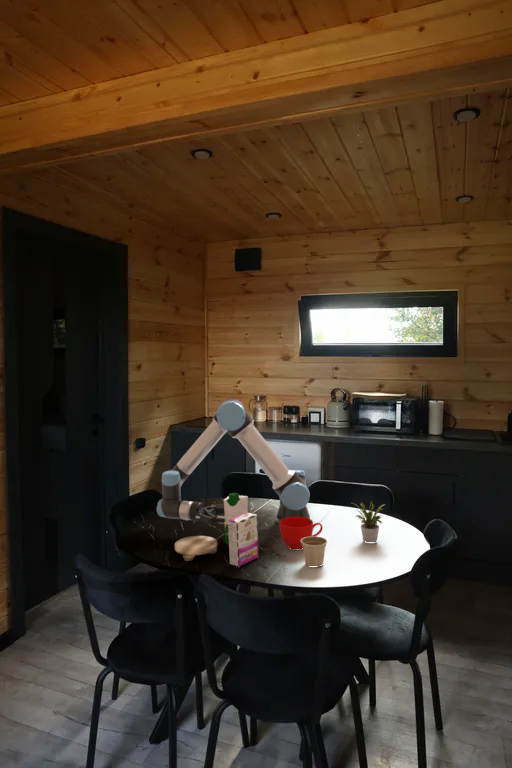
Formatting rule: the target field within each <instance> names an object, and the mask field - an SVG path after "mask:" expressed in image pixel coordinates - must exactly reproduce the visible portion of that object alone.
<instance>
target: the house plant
mask: <svg viewBox="0 0 512 768" xmlns="http://www.w3.org/2000/svg"><path fill="white" fill-rule="evenodd" d="M351 504H353V505H355V506H357V504H356V503H353V502H351ZM359 505H360V506H361V507H357V508H355V509H356V511H357V512H358V513H360V515H359V514H356V515H355V518H358V519H359V520H360V521H361V524H360V529H361V536H362V540H364V541H366V542H376V541H377V542H378V536H379V532H380V531H379V530H380V526H379V524H378V523H380V525H382V524H383V522H382V520H380V519H383V516H380V515H378V513H379V512H380V511H381V510H382V507H383V506H385V505H386V503H385V504H381V505H380V506H378V508H377V509H376V510H375V511H374V503H373V500H372V501H370V504H369V510H368V511H367V508H366V505H365V504H364V503H363V502H361V503H360V502H359ZM364 541H363V542H364ZM377 542H376V543H377Z"/></svg>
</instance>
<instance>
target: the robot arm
mask: <svg viewBox="0 0 512 768" xmlns="http://www.w3.org/2000/svg"><path fill="white" fill-rule="evenodd" d="M254 422H255V419H253V417H252V416H251V415H250V413H249V412H248V410H246V407H245V405H244V403H243V402H242V401H241V400H239V399H237V398H228V399H226V400H224V401H223V402H221V404H220V406H219V407H218V408H217V411H216V413H215V414H214V415H213V417H212V422H211V423H210V424H209V425H208V426H207V427H206V428H205V429H204V431H203V432H202V433H201V435H199V437H198V438H197V439H196V440H195V442H194V443H193V444H192V445H191V446H190V447H189V449H188V450H186V453H184V454H183V456H182V457H181V458H180V459H179V461H178V462H177V463H176V465H174V466H173V468H171V470H166V471H164V472H163V473H162V475H161V486H162V487H161V489H162V490H161V491H162V498H161V499H159V500H158V502H157V505H156V512H157V515H158V516H159V517H162V518H166V519H177V520H185V521H186V522H187V521H195V522H203V523H206V524H208V525H211V526H217V525H218V524H223V525H225V524H228V520H230V519H232V518H233V517H226V516H225V515H218V514H224V503H223V504H209V505H208V506H205V504H204V502H200V501H190V500H189V501H188V500H181V499H182V495H181V487H182V485H183V483H184V482H185V481H186V480H187V479H188V477H189V476H190V475H191V474H192V473H193V472H194V470H195V469H196V468H197V467H198V465H200V463H201V462H202V461H203V460H204V459H205V457H206V456H207V455H208V454H209V452H210V451H212V449H213V448H214V447H215V446H216V445H217V443H218V442H219V441H220V440H221V439H222V437H223V436H224V435H226V433H228V434H229V436H230V437H231V438H232V439H237V440H238V441H239V442H240V443H241V445H242V446H243V448H244V449H246V451H247V452H248V454H249V455H250V456H251V458H253V460H254V461H255V462H256V464H257V465H258V466H259V467H260V468H261V470H262V471H263V472H264V473H265V475H266V476H267V477H268V478H269V480H270V481H271V482H272V489H273V490H274V492H275V493H276V494H277V495H278V497H279V506H278V509H277V512H276V516H275V521H276V523H277V524H278V525H280V521H281V520H282V519H284V518H287V517H305V518H309V519H311V516H310V515H311V514H310V513H309V509H308V507H307V504H308V503H309V501H310V496H311V493H310V489H309V488H308V485H307V483H306V477H307V476H306V471H304V470H301V469H289V468H288V467H287V466H286V465H285V463H284V462H283V460H282V459H281V458H280V457H279V455H278V454H277V453H276V452H275V451H274V449H273V447H271V446H270V444H269V443H268V442H267V440H266V439H265V438H264V437H263V435H262V434H261V432H260V431H258V429H257V428H256V426H255V425H254V424H255V423H254Z"/></svg>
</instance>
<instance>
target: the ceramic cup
mask: <svg viewBox="0 0 512 768" xmlns="http://www.w3.org/2000/svg"><path fill="white" fill-rule="evenodd" d="M316 526H320V528H319V530H318V532H316V533H314V534H313V530H314V528H315V527H316ZM279 531H280V537H281V539H282V542H283V543H284V545H286V547H287V548H288V547H289V548H291V549H290V550H292V549H302V548H303V546H302V543H301V539H303V538H305V537H311V536H317V537H318V536H319V535H320V534H321V533H322V532H323V525H322V523H320V522H314V521H313V520H312V519H311V518H310V519H309V518H305V517H287V518H284V519H282V520H281V521H280V524H279ZM289 548H288V549H289ZM302 550H303V549H302Z"/></svg>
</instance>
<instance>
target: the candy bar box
mask: <svg viewBox="0 0 512 768" xmlns="http://www.w3.org/2000/svg"><path fill="white" fill-rule="evenodd" d="M258 528H259V527H258V514H256V513H252V512H248V513H245V514H243V515H240V516H238V517H235V518H232V519H230V520H228V533H229V544H228V552H229V555H228V556H229V565H231V566H234V565H235V566H234V567H237V566H238V568H240V566H241V565H243V566H245V565H246V563H247V564H249V563H251V562H252V560H253V561H254V559H255V560H256V558H257V559H259V558H260V556H259V555H260V553H259V530H258ZM250 561H251V562H250ZM248 562H249V563H248ZM244 564H245V565H244ZM241 567H242V566H241Z"/></svg>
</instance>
